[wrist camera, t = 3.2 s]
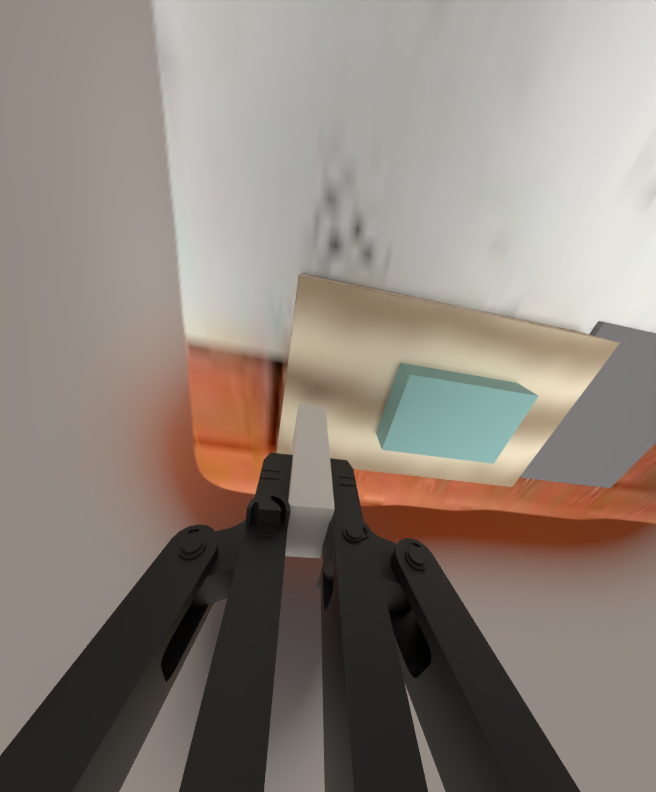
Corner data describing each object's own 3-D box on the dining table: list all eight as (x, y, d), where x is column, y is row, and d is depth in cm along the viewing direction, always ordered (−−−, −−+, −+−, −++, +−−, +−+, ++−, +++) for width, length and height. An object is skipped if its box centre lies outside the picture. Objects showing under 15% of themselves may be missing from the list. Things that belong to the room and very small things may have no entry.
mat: (599, 321, 19) (604, 322, 19) (738, 351, 21) (745, 353, 21) (496, 472, 27) (498, 474, 26) (606, 485, 29) (609, 488, 28)
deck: (301, 273, 17) (298, 276, 14) (579, 331, 20) (620, 342, 17) (280, 437, 23) (275, 460, 21) (492, 463, 26) (511, 486, 24)
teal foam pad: (376, 433, 20) (381, 449, 18) (400, 362, 17) (410, 374, 15) (478, 446, 21) (493, 463, 19) (517, 382, 18) (538, 396, 17)
